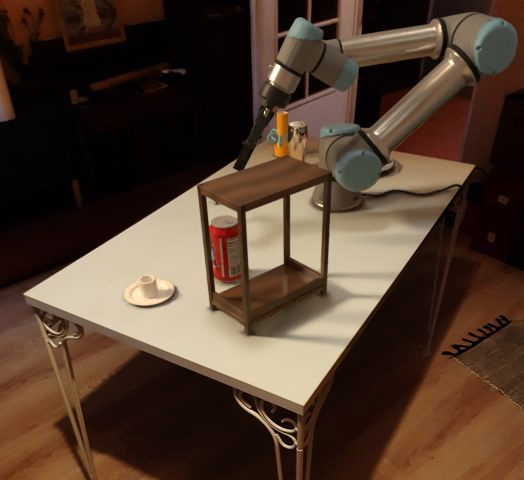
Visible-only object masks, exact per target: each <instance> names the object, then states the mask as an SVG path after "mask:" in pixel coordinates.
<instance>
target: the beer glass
mask: <svg viewBox="0 0 524 480" xmlns="http://www.w3.org/2000/svg"><path fill="white" fill-rule="evenodd" d="M287 141H288V148H289V154H290V157H293V158H296V159H298V160H301V161H304V162H306V151H307V146H308V141H309V130H308V123H307V122H306V121H303V120H294V121H290V122H288V131H287Z"/></svg>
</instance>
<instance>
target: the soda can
mask: <svg viewBox="0 0 524 480" xmlns="http://www.w3.org/2000/svg"><path fill="white" fill-rule="evenodd" d="M209 230H210V241H211V251H212V261H213V272H214V279H215V280H217V281H220V282H224V283H233V282H235V281H238V280H241V268H240V252H239V236H238V220H237V216H233V215H229V214H227V215H219V216H216V217H213V218H212V219H211V221H210V224H209Z"/></svg>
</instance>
